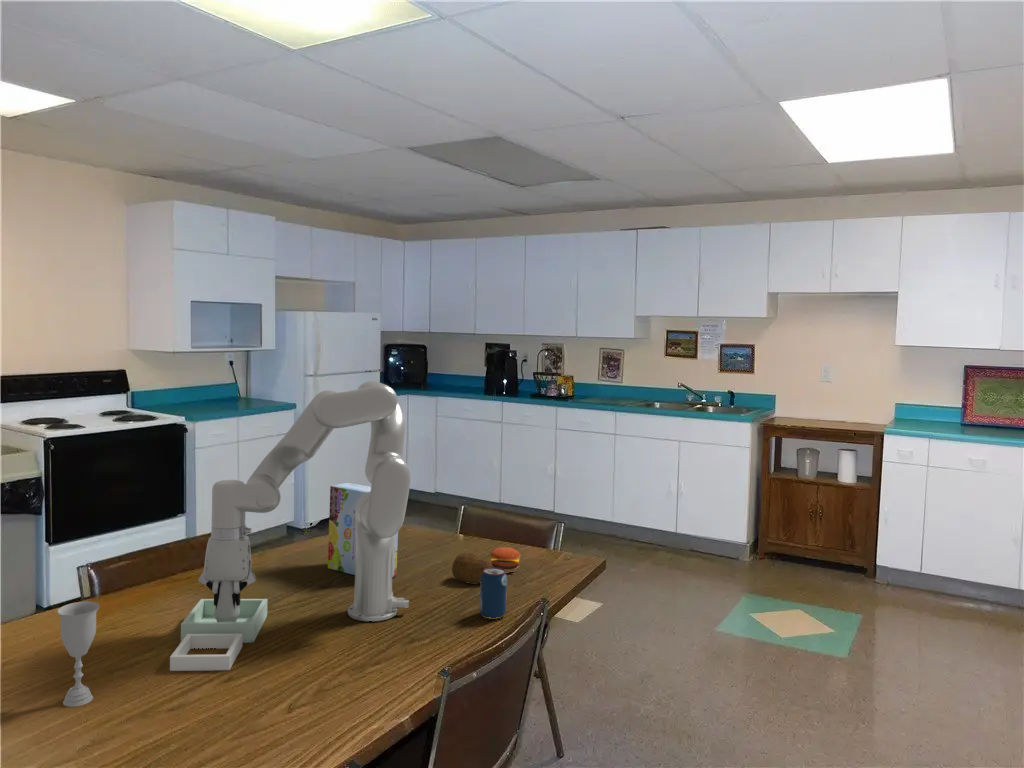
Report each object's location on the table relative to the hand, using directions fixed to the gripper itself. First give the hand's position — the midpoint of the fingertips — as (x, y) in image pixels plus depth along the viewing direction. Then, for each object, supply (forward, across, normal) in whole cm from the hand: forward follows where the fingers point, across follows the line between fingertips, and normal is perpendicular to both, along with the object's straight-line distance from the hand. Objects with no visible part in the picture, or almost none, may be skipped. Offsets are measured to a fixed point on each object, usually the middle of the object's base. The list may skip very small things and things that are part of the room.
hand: (226, 607), depth 179 cm
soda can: (+6, -65, -8) cm, 66 cm away
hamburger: (+6, -73, -47) cm, 87 cm away
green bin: (+5, 0, 0) cm, 5 cm away
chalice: (+6, +19, +34) cm, 39 cm away
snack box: (+6, -29, -43) cm, 52 cm away
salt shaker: (+4, 0, 0) cm, 4 cm away
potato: (+6, -61, -34) cm, 70 cm away
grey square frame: (+5, 0, +16) cm, 17 cm away
